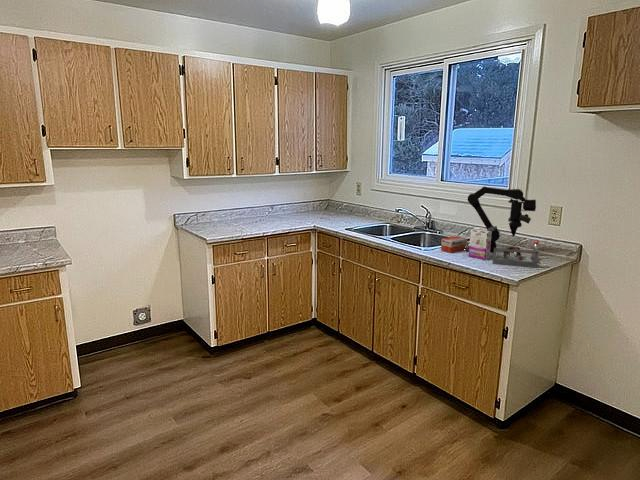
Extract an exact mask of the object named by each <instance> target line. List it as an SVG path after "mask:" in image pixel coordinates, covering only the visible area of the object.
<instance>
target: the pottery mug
mask: <svg viewBox="0 0 640 480" xmlns="http://www.w3.org/2000/svg"><path fill="white" fill-rule="evenodd" d="M506 249H517V250H521V248H520V247H519V246H515V245H511V246H509V247H507V248H506ZM502 253H503V254H502V255H503V256H504V258H506V257H507V256H508V257H510V256H511V254H514V252H508V251H502ZM517 257H518V260H521V261H522V259H523V258H522V253H520V252H517Z"/></svg>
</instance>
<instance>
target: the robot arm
mask: <svg viewBox="0 0 640 480" xmlns="http://www.w3.org/2000/svg"><path fill="white" fill-rule="evenodd" d="M485 194H488V195H496V196H502V197H508V198H510V199H509V200H508V201H507V202H508V203H510V204H511V205H510V206H511V207H510V211H509V213H510V214H509V217H508V219H507V220H508V221H507V222H509V223H508V226H509V229H510V232H511V236H512V237H515V236H516V233H517V230H518V229H519V228H521V227H522V225H523V224H522V222H524V223H526V224H530V222H531V220H532V218H531V217H530V216H529V214H527V213H525V214H523V213H522V209H523V210H524V212H525V211H526V212H536V208H537V206H536V204H537V202H536V201H537V200H536V199H526V198H525V197H524V192H523V191H522V189H520V188H510V189H504V188H497V187H490V186H489V187H488V186H482V187H481V188H480V189H478V190H477V191H475V192H474V193H473V192H472V193H469V195H468V196H467V202H468V203H469V204H470V205H471V207H473V209H475V211H476V213H477V214H478V216H479V218H480V219H481V221H482V223H483V224H484V226H485V228H486V231H491V232H492V236H491V247H490V254H492V253H494V248H498V247H497V245H498V244H497V241H498V240H499V239H500V238H501V235H500V233H501V231H500V230H499V229H498V227H497V225H495V226H494V225H493V224H492V222H491V220H490V219H489V217H488V215H487V213H486V212H485V210H484V209H483V207H482V205H481V202H480V198H481V197H483V196H484V195H485Z"/></svg>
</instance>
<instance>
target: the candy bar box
mask: <svg viewBox="0 0 640 480" xmlns="http://www.w3.org/2000/svg"><path fill="white" fill-rule="evenodd" d="M491 236H492V232H491V231H487V230H483V229H478V228H472V229H470V232H469V243H468V244H469V245H468V257H470V258H474V259H478V260H483V261H487V260H490V257H491V256H490V255H491V252H490V247H491Z"/></svg>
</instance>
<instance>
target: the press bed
mask: <svg viewBox="0 0 640 480" xmlns="http://www.w3.org/2000/svg"><path fill="white" fill-rule="evenodd" d="M503 251H508V252H510V253H511V252H514V253H513V258H517V257H518V256H517V252H520V253H521V254H522V253H523V254H531V255H532V254H535V260H534V261H533V262H532V260H531V261H530V260H522V259H521V260H519V259H518V260H517V259H510V258H509V259H506V258H497V252H503ZM538 259H539V251H538V250H537V251H534V250H529V249H527V250H525V249H520V250H517V249H507V248H502V247H501V248H500V247H496V248H494V253H493V256H492V265H498V266H499V265H501V266H510V267H513V266H514V267H521V268H533V269H536V268H538V263H537V262H538Z"/></svg>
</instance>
